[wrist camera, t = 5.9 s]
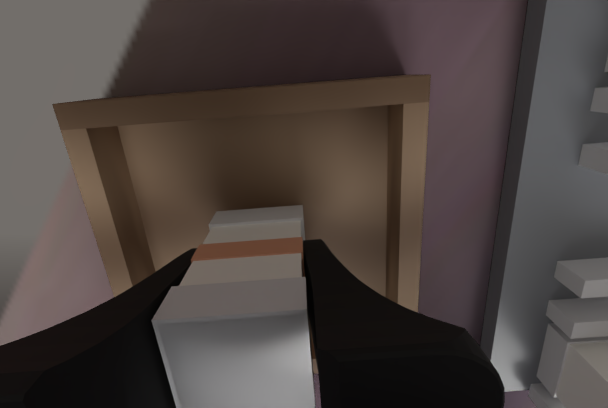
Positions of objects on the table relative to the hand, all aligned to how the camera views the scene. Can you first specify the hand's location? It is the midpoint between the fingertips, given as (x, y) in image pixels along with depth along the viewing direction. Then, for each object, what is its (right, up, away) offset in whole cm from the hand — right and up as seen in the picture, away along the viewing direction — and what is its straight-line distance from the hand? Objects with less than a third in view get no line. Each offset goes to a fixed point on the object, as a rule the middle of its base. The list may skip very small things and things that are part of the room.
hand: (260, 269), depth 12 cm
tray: (0, +1, +3) cm, 3 cm away
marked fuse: (0, +1, +2) cm, 2 cm away
